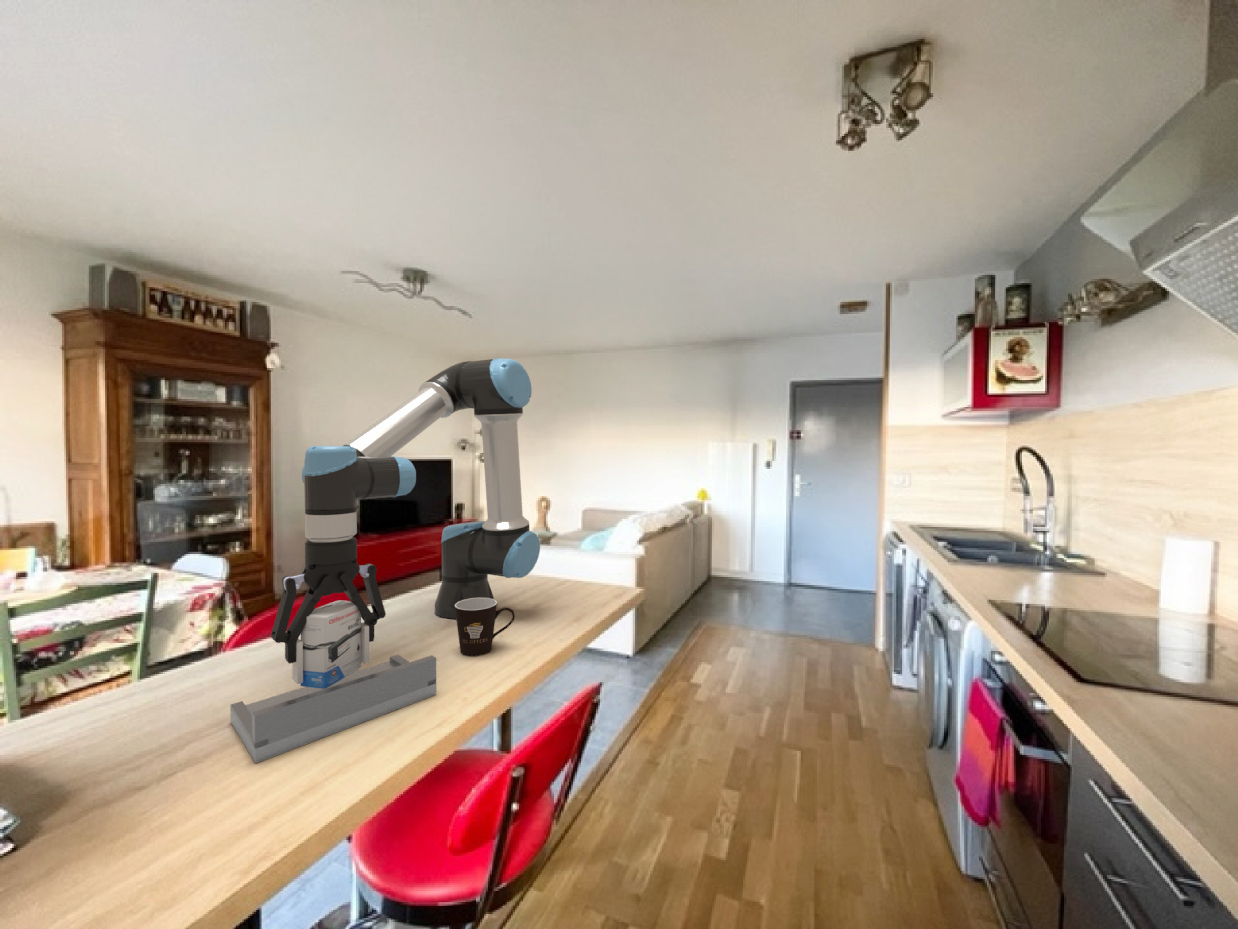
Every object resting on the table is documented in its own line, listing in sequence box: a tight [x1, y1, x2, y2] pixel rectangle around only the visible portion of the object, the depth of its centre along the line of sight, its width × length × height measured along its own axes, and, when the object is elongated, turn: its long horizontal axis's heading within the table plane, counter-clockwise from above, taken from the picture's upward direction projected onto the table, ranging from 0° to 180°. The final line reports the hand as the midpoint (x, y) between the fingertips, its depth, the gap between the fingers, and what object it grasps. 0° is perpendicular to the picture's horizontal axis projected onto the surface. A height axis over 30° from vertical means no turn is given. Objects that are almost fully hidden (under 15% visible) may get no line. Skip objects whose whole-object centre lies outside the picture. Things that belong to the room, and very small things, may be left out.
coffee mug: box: [455, 598, 516, 657], centre depth 106 cm, size 12×9×10 cm
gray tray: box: [229, 654, 437, 764], centre depth 82 cm, size 26×15×6 cm, turn 138°
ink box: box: [300, 599, 362, 689], centre depth 84 cm, size 8×5×12 cm, turn 168°
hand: (332, 670), depth 84 cm, fingers closed on ink box, 9 cm apart
